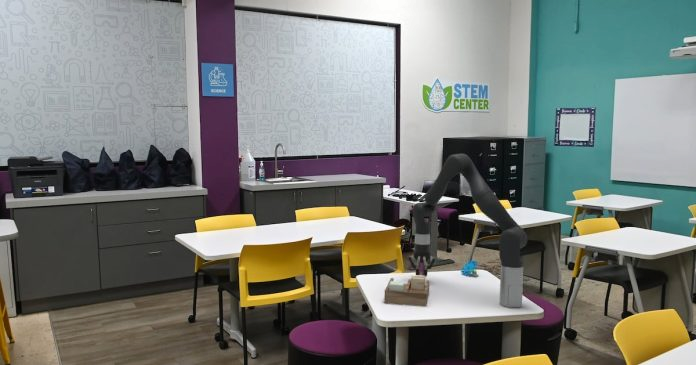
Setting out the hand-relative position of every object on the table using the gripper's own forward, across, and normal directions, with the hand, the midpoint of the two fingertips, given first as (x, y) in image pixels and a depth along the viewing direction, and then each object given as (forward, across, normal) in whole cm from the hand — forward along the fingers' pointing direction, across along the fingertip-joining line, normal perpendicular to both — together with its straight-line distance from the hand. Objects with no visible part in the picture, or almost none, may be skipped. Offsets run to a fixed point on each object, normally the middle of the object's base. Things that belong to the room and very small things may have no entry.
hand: (421, 276), depth 269 cm
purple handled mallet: (+2, 0, -12) cm, 12 cm away
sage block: (0, -8, -34) cm, 36 cm away
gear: (+3, +24, +20) cm, 31 cm away
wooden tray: (+3, -4, -28) cm, 28 cm away
